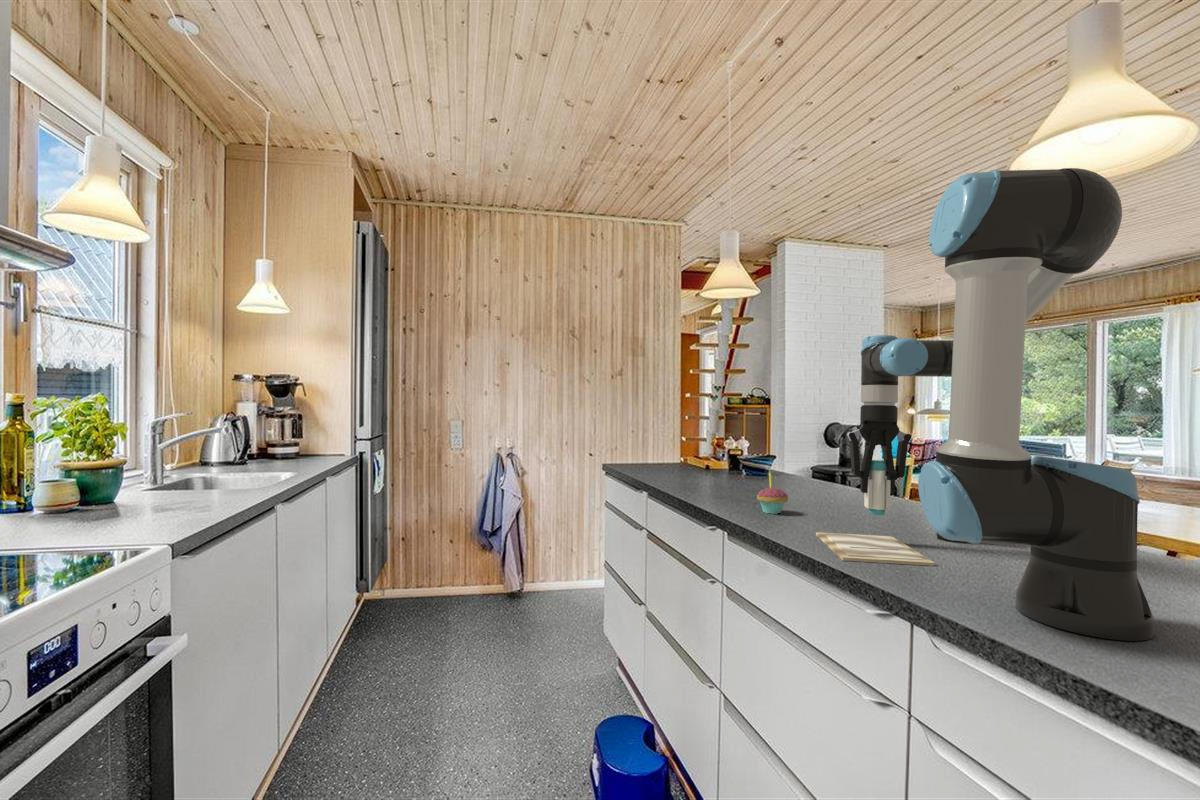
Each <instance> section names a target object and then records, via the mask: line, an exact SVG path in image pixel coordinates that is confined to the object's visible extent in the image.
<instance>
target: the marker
mask: <svg viewBox="0 0 1200 800" xmlns="http://www.w3.org/2000/svg"><path fill="white" fill-rule="evenodd" d="M885 470H886V461H884V460H879V459H878V460H877V459H876V460H875V459H872V463H871V468H870V474H869V479H872V509H868V513H869V514H870V515H874V516H885V515H886V509H885V479H886V472H885Z"/></svg>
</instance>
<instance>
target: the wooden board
mask: <svg viewBox="0 0 1200 800" xmlns="http://www.w3.org/2000/svg"><path fill="white" fill-rule="evenodd" d="M815 536H816V537H817V538H819V539H820V540H821V541H822V542H823V543H824V544H825V545H826V546H827V547H828V548H829V549H830V550H831V551H832V552H833V553H834V554H835V555H836V556H837V557H839V559H841V561H844V562H845V561H847V562H861V563H862V562H863V563H877V564H878V563H879V564H881V563H882V564H897V565H912V566H914V565H915V566H926V567H927V566H928V567H935V566H936V562H935V561H933V560H931V559H929V558H928V557H926V556H925V555H923V554H921V553H920V552H918V551H917V550H915V549H913V548H912V547H911V546H909V545H907V544H905V543H903V542H902V541H900V540H899V539H897V538H895V537H894V536H891V535H890V536H889V535H875V534H874V535H873V534H857V533H855V534H854V533H836V532H835V533H834V532H822V531H821V532H815Z"/></svg>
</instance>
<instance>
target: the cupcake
mask: <svg viewBox="0 0 1200 800" xmlns="http://www.w3.org/2000/svg"><path fill="white" fill-rule="evenodd" d="M768 477H769V478H768V479H769V487H765V488H763V489H761V490H759V491H758V492H757V496H756V499H757V500H758V501H759V504H760V506H761V509H762V512H763V513H764V512H765V513H764V514H767V513H771V514H770V515H779V514H778V513H780V514H781V513H782V509H783V506H784V504H785V503H787V502H788V501H789V500H788V499H789V497H788V496H789V495H788V494H787V493H786V492H784V491H783V490H782V489H780V488H775V487H773V479H772V478H773V477H772V473H771V471H769V473H768Z"/></svg>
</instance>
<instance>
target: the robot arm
mask: <svg viewBox="0 0 1200 800" xmlns="http://www.w3.org/2000/svg"><path fill="white" fill-rule="evenodd" d="M1121 200H1122V199H1121V197H1120V195H1119V193H1118V191H1117V189H1116V187H1114V185H1113V184H1112V183H1111V182H1110V180H1108V179H1107V178H1106V177H1104V176H1102V175H1101V174H1099V173H1097V172H1095V171H1091V170H1088V169H1084V168H1078V167H1069V168H1066V167H1065V168H1060V169H1059V168H1057V169H1055V168H1052V169H1050V168H1049V169H1021V170H1020V169H1015V170H1014V169H1013V170H998V169H991V170H989V171H982V172H970V173H965V174H962V175H960V176H959V177H957V178H956V179H954V180H953V181H952V182H951V183H950V185H948V186H947V188H946V189H945V190H944V192H943V194H941V197H940V199H939V201H938V203H937V204H936V208H935V210H934V212H933V216H932V218H931V224H930V227H929V235H928V237H929V238H928V242H929V247H930V251H931V253H932V254H934V256H937V257H939V258H944V272H945V273H946V274H947V275H948V276H950V277H951V278H953V280H954V281H955V297H954V315H953V317H954V318H953V319H954V320H953V336H952V337H953V338H952V339H951V340H947V339H945V340H944V339H943V340H941V339H940V340H938V339H936V340H935V339H934V340H933V339H929V340H927V339H926V340H925V339H920V340H919V339H916V338H913V337H905V338H901V337H900V338H898V336H896V335H892V334H891V335H889V334H888V335H887V334H880V335H879V334H877V335H870V336H865V337H864V338H863V339H862V341H861V342H862V343H861V344H862V345H861V351H860V355H861V365H860V368H861V369H860V371H861V372H860V377H861V378H860V379H861V380H860V383H861V384H860V385H861V386H860V402H861V403H863V404H861V406H860V415H859V416H860V419H859V420H860V423H859V424H858V425H859V426H858V428H857V429H855V430H853V431H848V432H846V437H847V439H848V442H849V453H850V466H851V467H850V469H851V470H850V471H851V473H852V475H854V476H857V477H859V478H860V480H859V481H860V482H859V483H860V484H859V485H860V487H859V490H860V492H861V493H862V494H863V493H864V496H863V497H864V501H863V502H864V504H863V505H864V507H865V508H866V509H868V510H869V509H872V479H870V468H871V463H872V460H873V457H874V452H875V450H876V446H880V448H881V451H882V457H883V461H886V470H885V510H891V495H894V494H895V492H896V491H895V489H896V481H897V479H901V478H904V477H905V473H906V465H907V454H908V445H909V443H910V441H911V439H912V435H911V434H910V433H905V432H904V431H901V430H900V427H899V426H898V418H899V417H898V415H899V414H898V413H899V412H898V409H899V408H898V406H897V405H896V404H897V403H898V402H899V377H943V378H944V377H946V378H948V377H949V378H951V383H950V400H949V401H950V402H949V423H948V424H949V425H948V438H947V439H946V441H945V442H943V443H941V445H939V446H937V447H936V451H935V452H936V453H935V460H931V461H929V462H926V463H924V464H923V465H922V467H921V468H920V472H919V473H918V479H917V481H918V482H917V486H918V487H917V488H918V497H919V501H920V506H921V509H922V512H923V514H924V516H925V518H926V520H927V522H928V524H929V525H930V527H931V528H932V530H934V532H936V534H937V533H938V534H939V535H940V536H942V537H943V538H946V539H948V540H954V541H965V542H968V543H969V544H973V545H976V544H995V545H996V544H999V545H1002V544H1003V545H1018V546H1019V545H1021V546H1030V555H1029V560H1028V564H1027V566H1026V568H1025V570H1024V573H1023V574H1022V576H1021V579H1020V581H1019V584H1018V587H1017V588H1016V590H1015V597H1014V599H1015V600H1014V601H1015V602H1014V603H1015V604H1014V607H1015V608H1016V610H1017V611H1018V612H1019V613H1021V614H1022V615H1024V616H1026V617H1028V618H1030V619H1032V620H1034V621H1036V622H1039V623H1042V624H1044V625H1047V626H1049V627H1053V628H1056V629H1060V630H1062V631H1063V630H1064V631H1066V632H1071V633H1076V634H1078V635H1079V634H1080V635H1083V636H1090V637H1094V638H1099V639H1100V638H1101V639H1106V640H1107V639H1108V640H1116V641H1128V642H1130V641H1131V642H1132V641H1133V642H1135V641H1136V642H1138V641H1139V642H1140V641H1147V640H1150V639H1151V640H1152V638H1154V637H1155V618H1154V615H1153V613H1152V611H1151V607H1150V605H1149V602H1148V599H1147V598H1146V595H1145V593H1144V590H1143V588H1142V585H1141V582H1140V579H1139V577H1138V513H1139V512H1138V511H1139V510H1138V509H1139V504H1140V501H1141V500H1140V498H1139V491H1138V482H1137V481H1138V480H1137V478H1136V476H1135V474H1133V473H1132V472H1131V471H1130V470H1128V469H1125V468H1122V467H1117V466H1116V467H1115V466H1109V465H1102V464H1097V463H1089V462H1082V461H1075V460H1069V459H1061V458H1054V457H1047V456H1041V455H1035V456H1033V457H1032V455H1031V454H1030V453H1028V451H1027V450H1026V449H1025V448H1024V447H1022V445H1021V444H1020V432H1021V431H1020V430H1021V412H1022V393H1023V375H1024V359H1025V358H1024V357H1025V339H1026V324H1027V323H1028V321H1030V320H1031V318H1032V317H1034V315H1036V313H1037V312H1039V310H1041V308H1042V307H1044V305H1045V304H1047V302H1048V301H1050V299H1051V298H1052V297H1053V296H1054V295H1055V294H1057V292H1058V291H1059V290H1060V289H1061V288H1062V287H1063V286H1064V285H1065V284H1066V283H1067V282H1068V281H1069V280H1070V279H1072V277H1073V276H1074V275H1075V276H1076V275H1079V274H1082V273H1085V272H1087V271H1088V270H1090V269H1091V268H1092V267H1093V266H1094V265H1095V264H1096V263H1097V262H1098V261H1099V260H1100V259H1101V258H1102V257H1103V256H1104V255H1105V254H1106V252H1107V251H1108V250H1109V249H1110V248H1111V246H1112V244H1113V242H1114V241H1115V239H1116V237H1117V235H1118V233H1119V230H1120V226H1121V223H1122V218H1123V207H1122V206H1123V205H1122V201H1121ZM860 436H861V438H863V440H864V441H865V442H864V447H863V448H864V451H863V456H862V461H860V448H859V445H860V444H859V440H860ZM895 438H897V441H898V442H897V446H896V447H897V448H896V457H895V461H894V455H893V444H892V442H893V441H894V440H895ZM894 462H895V464H894Z"/></svg>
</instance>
